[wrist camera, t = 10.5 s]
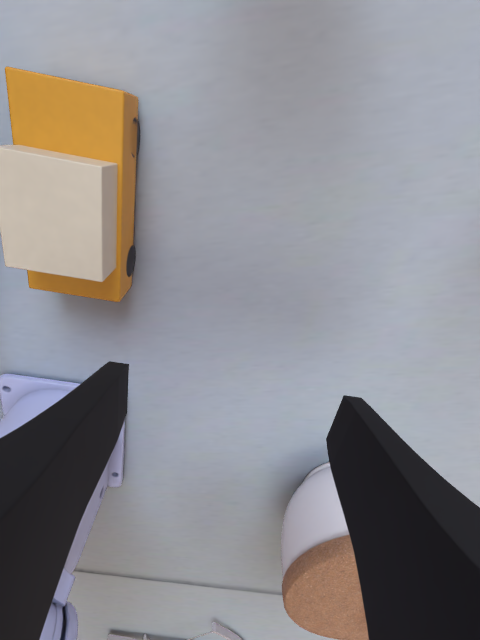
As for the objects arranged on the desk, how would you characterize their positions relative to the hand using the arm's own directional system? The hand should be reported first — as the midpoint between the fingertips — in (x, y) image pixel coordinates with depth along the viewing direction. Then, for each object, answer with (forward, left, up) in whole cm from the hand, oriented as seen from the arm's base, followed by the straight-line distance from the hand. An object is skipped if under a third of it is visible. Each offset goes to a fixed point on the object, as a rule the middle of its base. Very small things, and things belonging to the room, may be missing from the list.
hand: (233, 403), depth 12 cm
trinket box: (-15, -11, -10) cm, 21 cm away
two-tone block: (+4, +8, -9) cm, 13 cm away
